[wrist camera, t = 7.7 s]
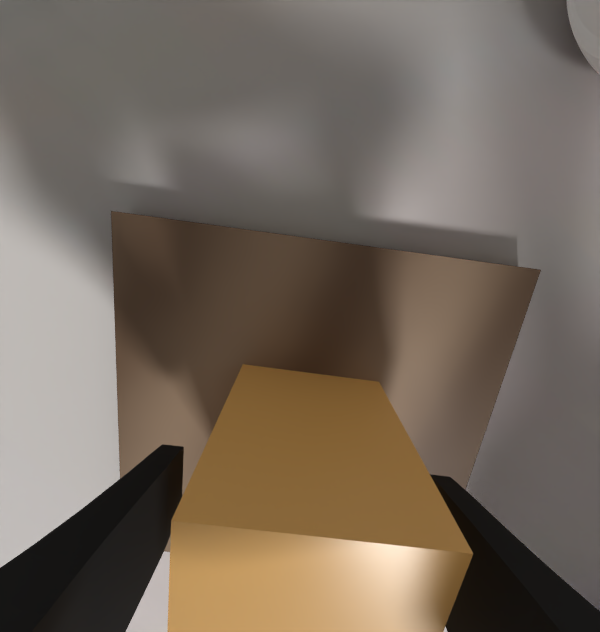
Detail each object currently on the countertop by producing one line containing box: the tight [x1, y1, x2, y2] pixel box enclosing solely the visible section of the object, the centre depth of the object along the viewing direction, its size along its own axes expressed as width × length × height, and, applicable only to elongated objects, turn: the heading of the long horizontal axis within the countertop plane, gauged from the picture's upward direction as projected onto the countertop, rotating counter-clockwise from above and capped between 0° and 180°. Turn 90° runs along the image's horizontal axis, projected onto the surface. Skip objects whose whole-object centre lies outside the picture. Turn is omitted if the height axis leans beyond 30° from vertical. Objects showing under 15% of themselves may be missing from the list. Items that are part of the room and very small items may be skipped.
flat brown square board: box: [111, 211, 541, 552], centre depth 10 cm, size 14×14×4 cm
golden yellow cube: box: [168, 364, 473, 632], centre depth 8 cm, size 5×5×6 cm
